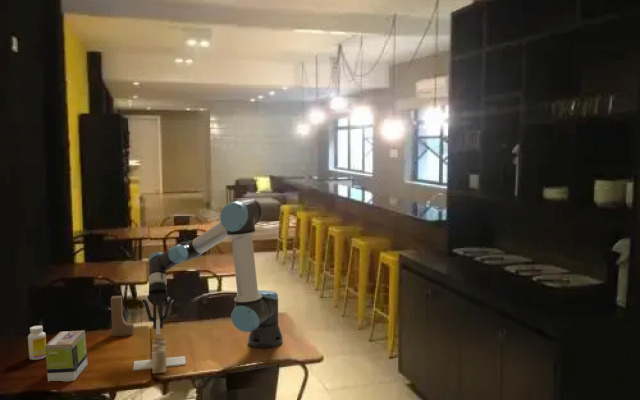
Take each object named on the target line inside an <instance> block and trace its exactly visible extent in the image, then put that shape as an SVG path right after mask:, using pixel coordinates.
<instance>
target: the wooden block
mask: <svg viewBox="0 0 640 400" xmlns="http://www.w3.org/2000/svg"><path fill="white" fill-rule="evenodd" d="M123 305H124V304H123V295H112V296H111V297H110V312H111V336H112V337H123V336H124V337H125V336H133V335H134V333H135V328H134V327H135V326H134V322H128V321H127V320H125V317H124V308H123Z"/></svg>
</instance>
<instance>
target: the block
mask: <svg viewBox="0 0 640 400" xmlns="http://www.w3.org/2000/svg"><path fill="white" fill-rule="evenodd" d="M166 358H167V338H166V337H157V338H152V348H151V359H152V374H161V373H163V374H164V373H167V367H166Z"/></svg>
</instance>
